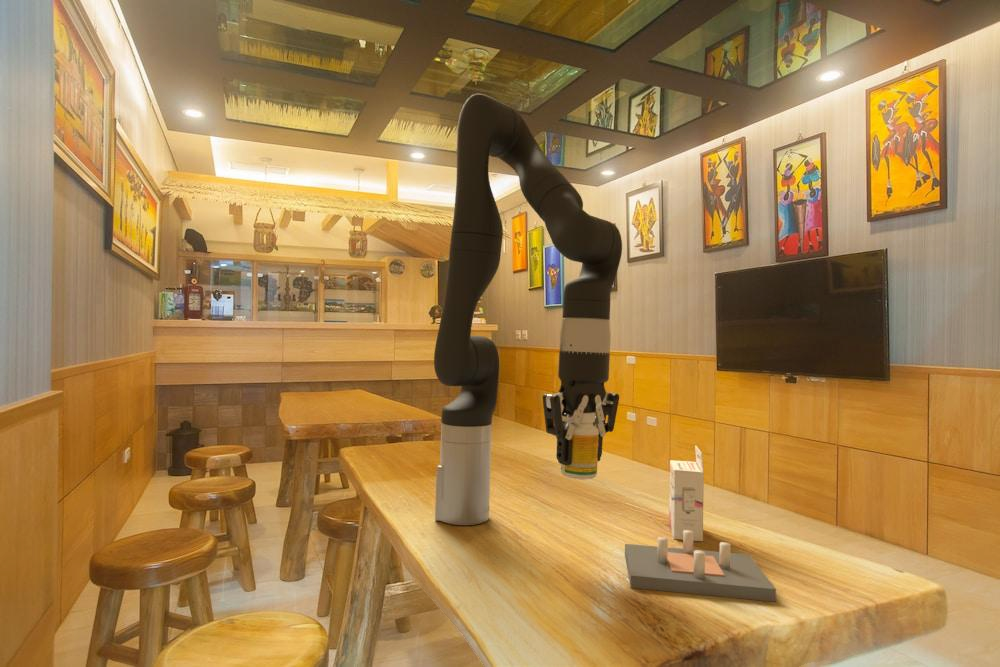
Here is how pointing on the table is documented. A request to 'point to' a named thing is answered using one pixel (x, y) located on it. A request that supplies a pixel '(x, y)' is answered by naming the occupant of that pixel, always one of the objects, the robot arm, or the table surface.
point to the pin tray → (696, 571)
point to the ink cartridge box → (687, 497)
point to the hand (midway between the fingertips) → (579, 461)
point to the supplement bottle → (583, 449)
